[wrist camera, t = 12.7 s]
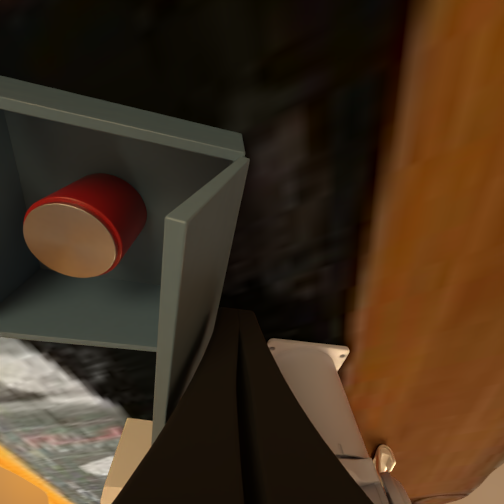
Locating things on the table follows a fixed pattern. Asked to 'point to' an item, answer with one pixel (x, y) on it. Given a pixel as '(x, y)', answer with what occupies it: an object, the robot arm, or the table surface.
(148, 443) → the tan cube
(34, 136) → the carton
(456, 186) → the table surface
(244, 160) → the carton flap
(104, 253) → the can
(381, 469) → the tablet stand
